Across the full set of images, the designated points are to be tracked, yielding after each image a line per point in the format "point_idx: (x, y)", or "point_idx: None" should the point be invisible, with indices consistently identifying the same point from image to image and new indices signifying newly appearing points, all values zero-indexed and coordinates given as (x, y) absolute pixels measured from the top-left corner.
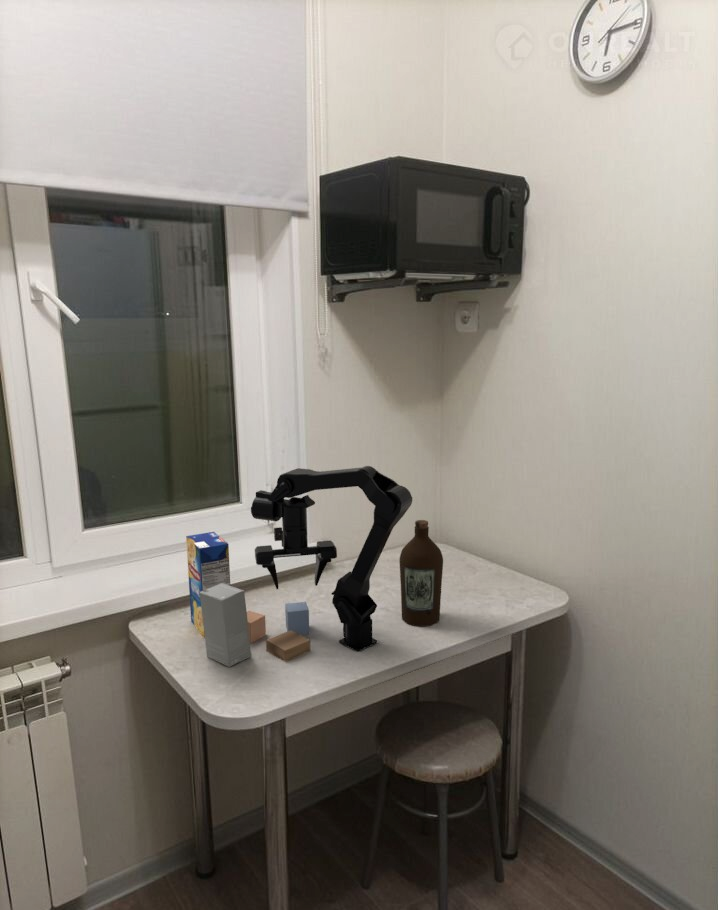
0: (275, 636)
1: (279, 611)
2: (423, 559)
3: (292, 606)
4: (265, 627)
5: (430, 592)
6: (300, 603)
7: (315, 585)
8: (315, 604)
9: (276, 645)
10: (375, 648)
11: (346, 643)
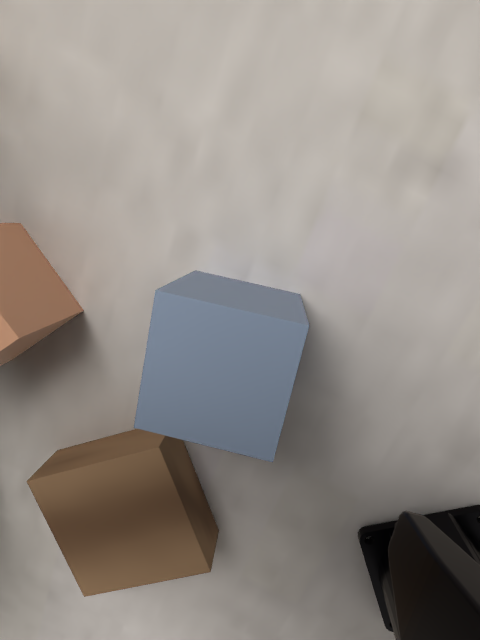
0: (73, 471)
1: (221, 46)
2: None
3: (189, 360)
4: (63, 319)
5: None
6: (260, 337)
7: (388, 550)
8: (476, 30)
9: (60, 546)
10: None
11: (374, 573)
